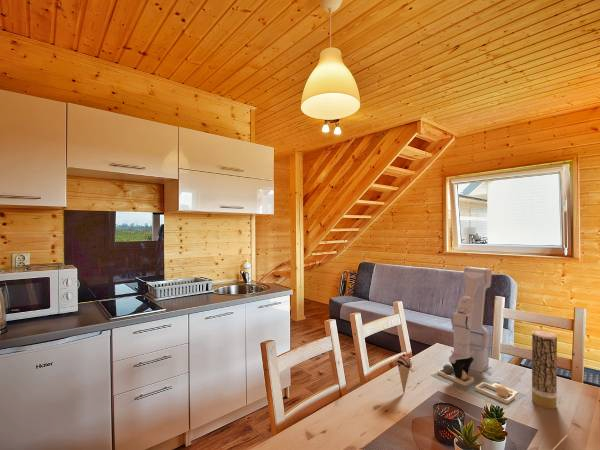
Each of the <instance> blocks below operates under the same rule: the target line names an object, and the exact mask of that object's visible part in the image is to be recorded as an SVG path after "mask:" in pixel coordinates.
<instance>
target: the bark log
mask: <svg viewBox="0 0 600 450" xmlns="http://www.w3.org/2000/svg"><path fill="white" fill-rule="evenodd" d="M531 332H532V334H531V335H532V336H531V338H532V339H531V344H532V345H531V347H532V348H531V358H532V359H531V400H532V403H533V404H535V405H536V406H538V407H541V408H544V409H548V410H554V409H556V408H557V393H558V391H557V388H558V387H557V381H558V379H557V376H558V375H557V372H558V371H557V370H558V369H557V364H558V361H557V359H558V354H557V353H558V348H557V347H558V337H557V336H558V335H557V334H555V333H553V332H550V331H546V330H538V329H537V330H536V329H535V330H532V331H531Z"/></svg>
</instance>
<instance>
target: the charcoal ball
mask: <svg viewBox="0 0 600 450" xmlns="http://www.w3.org/2000/svg"><path fill="white" fill-rule="evenodd" d="M442 368H443V371H444V372H445V373H446V374H448V375H451V374H453V372H454V370H453V367H452V365H451V364H444V365H443V367H442Z"/></svg>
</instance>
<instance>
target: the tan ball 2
mask: <svg viewBox="0 0 600 450" xmlns="http://www.w3.org/2000/svg"><path fill="white" fill-rule="evenodd" d="M501 385H502V384H500V386H497V387H496V393H497V395H498V396H499V397H502V398H506V397H507V396H508V395H509V392H508V390H507V388H506V387H507V386H505V387H504V385H502V386H501Z"/></svg>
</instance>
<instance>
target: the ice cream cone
mask: <svg viewBox="0 0 600 450" xmlns="http://www.w3.org/2000/svg"><path fill="white" fill-rule="evenodd" d="M395 364H396V365H397V367H398V372H399V373H398V374H399V377H400V384H401V387H402V392H403V393H405V391H406V387H407V383H408V378H409V373H410V370H411V368H412V366H413V363H412V362H411V358H410V357H409V356H407V355H406V354H405V353H402V354H400V355H399V356H398V357H397V360H396V361H395Z"/></svg>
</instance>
